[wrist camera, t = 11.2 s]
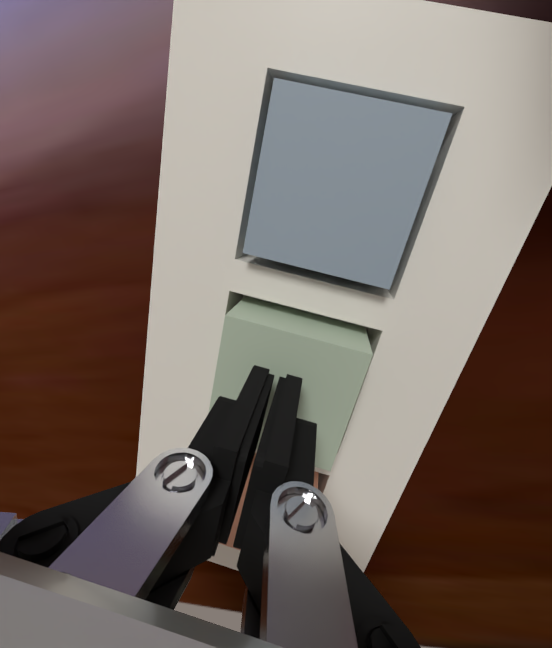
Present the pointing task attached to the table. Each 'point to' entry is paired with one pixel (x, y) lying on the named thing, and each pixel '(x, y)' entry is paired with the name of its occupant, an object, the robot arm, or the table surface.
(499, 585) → the table surface
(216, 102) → the button panel
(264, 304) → the sage button
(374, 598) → the robot arm
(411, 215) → the slate button
